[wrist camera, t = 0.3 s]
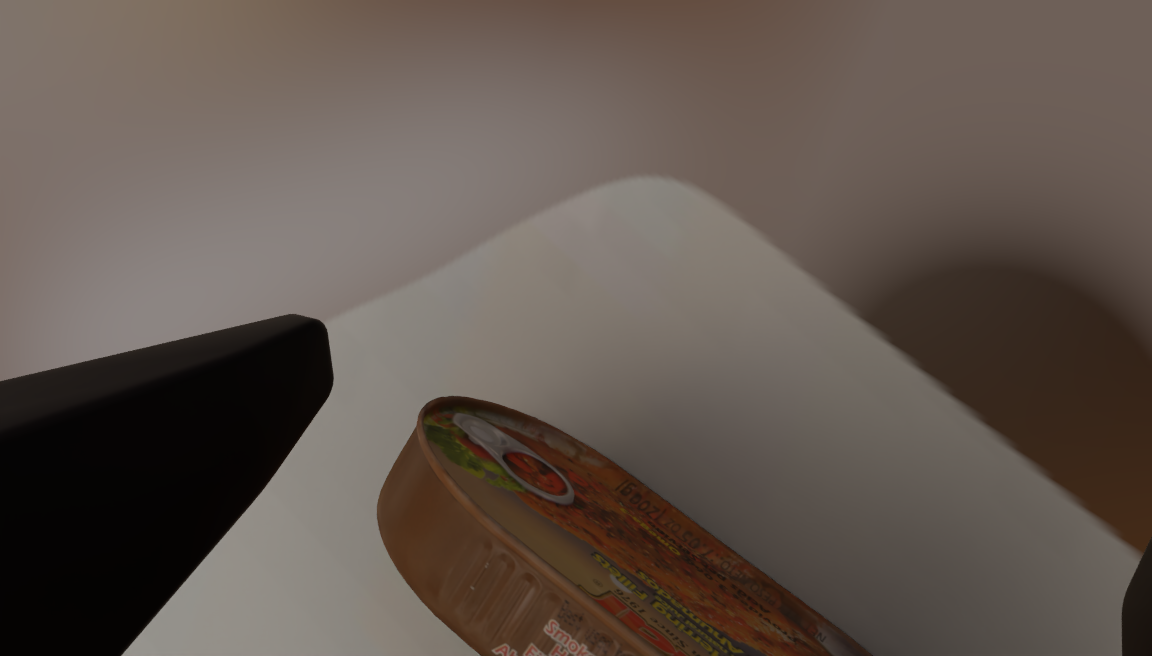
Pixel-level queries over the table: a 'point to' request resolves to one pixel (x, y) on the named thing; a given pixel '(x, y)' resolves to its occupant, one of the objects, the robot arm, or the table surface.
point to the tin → (571, 551)
